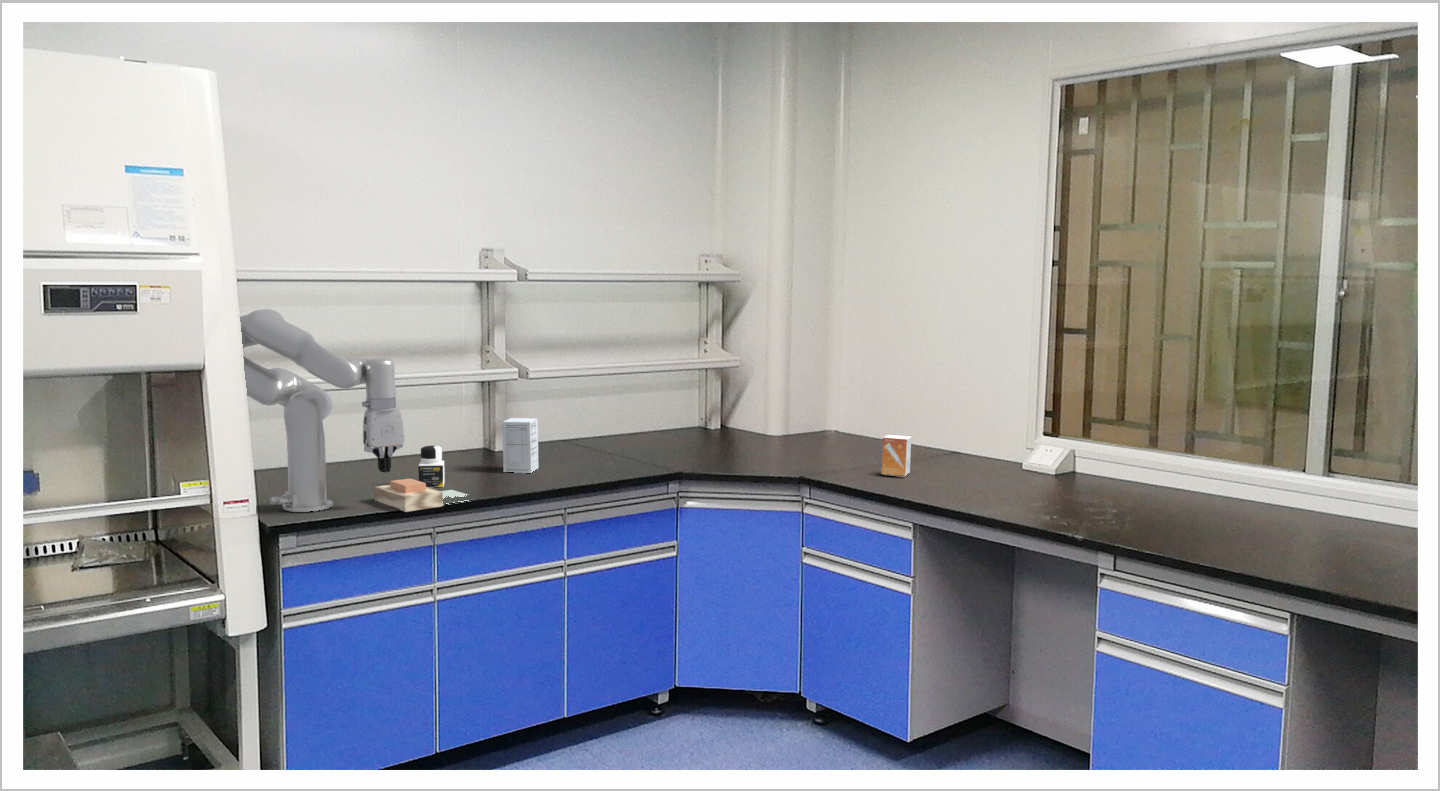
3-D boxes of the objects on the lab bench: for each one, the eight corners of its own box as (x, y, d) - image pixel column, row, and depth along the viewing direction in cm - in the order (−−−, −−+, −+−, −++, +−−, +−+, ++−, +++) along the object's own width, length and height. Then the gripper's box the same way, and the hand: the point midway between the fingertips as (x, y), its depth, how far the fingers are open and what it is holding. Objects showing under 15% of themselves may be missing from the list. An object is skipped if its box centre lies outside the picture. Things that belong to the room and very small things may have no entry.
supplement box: (539, 468, 350) (539, 418, 348) (531, 474, 341) (531, 421, 339) (510, 468, 351) (510, 417, 349) (502, 473, 342) (501, 421, 340)
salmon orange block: (425, 490, 293) (425, 483, 293) (405, 493, 289) (405, 486, 289) (410, 485, 300) (410, 478, 300) (390, 488, 296) (390, 481, 295)
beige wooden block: (405, 511, 285) (405, 497, 284) (374, 500, 298) (374, 486, 297) (442, 506, 292) (442, 491, 292) (410, 495, 305) (410, 481, 305)
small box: (881, 476, 346) (882, 436, 344) (885, 473, 352) (887, 434, 350) (905, 478, 343) (907, 438, 341) (910, 475, 349) (911, 436, 347)
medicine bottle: (418, 488, 315) (417, 448, 314) (420, 483, 322) (419, 444, 321) (443, 488, 317) (442, 448, 315) (444, 483, 324) (444, 444, 322)
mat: (442, 505, 293) (442, 504, 293) (414, 496, 305) (414, 494, 305) (480, 499, 302) (480, 498, 301) (451, 490, 313) (451, 489, 313)
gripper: (361, 408, 279) (364, 477, 281) (413, 402, 289) (416, 469, 291) (348, 405, 284) (352, 473, 286) (400, 400, 294) (403, 466, 297)
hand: (384, 471), depth 289 cm, fingers closed
